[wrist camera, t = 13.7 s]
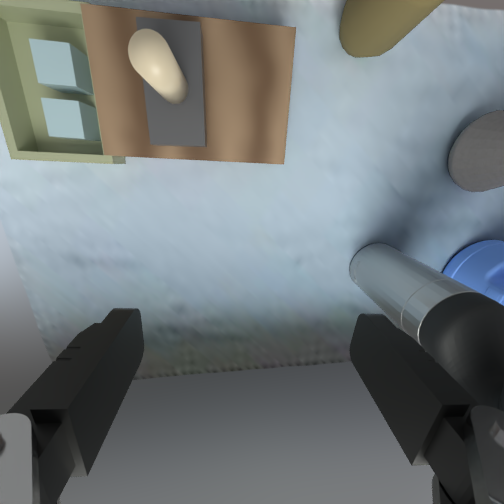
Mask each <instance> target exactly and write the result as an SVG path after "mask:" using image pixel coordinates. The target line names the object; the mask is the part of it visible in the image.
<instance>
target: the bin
mask: <svg viewBox="0 0 504 504" xmlns="http://www.w3.org/2000/svg"><path fill="white" fill-rule="evenodd" d="M80 3H83V4H90V3H88V2H79V1H71V0H0V122H1V126H2V129H3V133H4V136H5V140H6V143H7V147H8V150H9V153H10V157H11V159H19V160H40V161H62V162H83V163H104V164H126V163H125V156H110V155H104V150H103V144H102V137H101V131H100V125H99V131H100V138H101V141H88V140H74V139H65V138H58V137H51V136H49V134H48V129H47V124H46V120H45V115H44V110H43V106H42V101H41V98H51V99H62V100H73V101H80V102H82V103H85V104H87V105H90V106H92V107H94V108H96V111H97V106H96V100H95V93H94V95H83V94H71V93H61V92H59V91H56V90H54V89H52V88H49V87H47V86H44V85H42V84H40V83H38V79H37V75H36V70H35V66H34V61H33V56H32V52H31V47H30V42H29V39H38V40H47V41H57V42H66V43H70V44H71V45H73V46H74V47H75V48H77V49H78V50H79V51H81V52H82V53H83V54H85V55H86V56H87V57H88V61H89V56H88V50H87V43H86V37H85V31H84V24H83V18H82V12H81V6H80ZM89 67H90V62H89ZM90 73H91V68H90ZM91 79H92V75H91ZM92 86H93V81H92ZM93 92H94V87H93ZM97 117H98V112H97ZM98 124H99V119H98Z"/></svg>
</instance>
